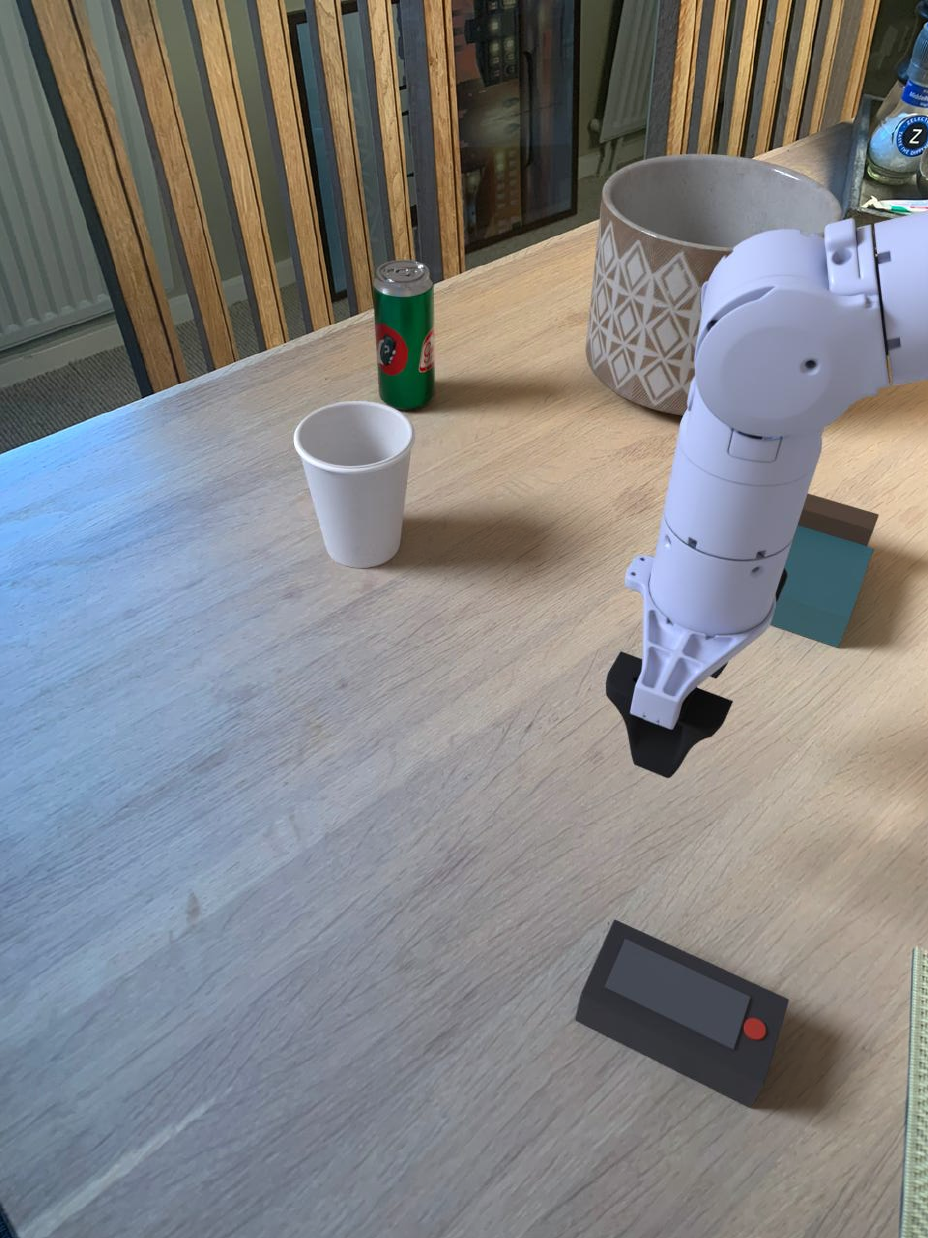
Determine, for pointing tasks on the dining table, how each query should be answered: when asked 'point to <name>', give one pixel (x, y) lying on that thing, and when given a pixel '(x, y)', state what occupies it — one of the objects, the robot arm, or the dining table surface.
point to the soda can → (404, 334)
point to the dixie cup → (357, 477)
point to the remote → (683, 1012)
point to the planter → (679, 260)
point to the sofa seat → (825, 570)
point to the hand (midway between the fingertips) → (678, 715)
